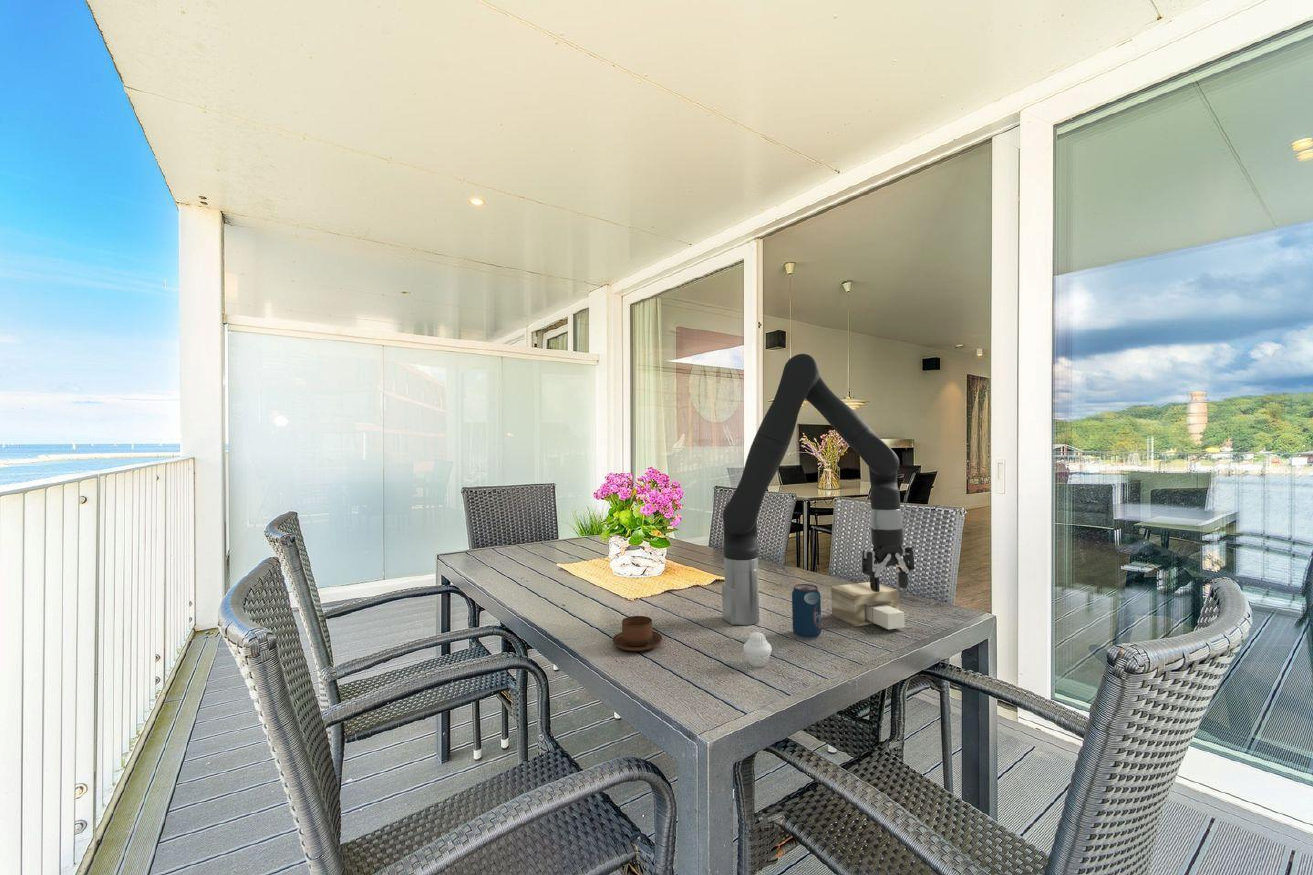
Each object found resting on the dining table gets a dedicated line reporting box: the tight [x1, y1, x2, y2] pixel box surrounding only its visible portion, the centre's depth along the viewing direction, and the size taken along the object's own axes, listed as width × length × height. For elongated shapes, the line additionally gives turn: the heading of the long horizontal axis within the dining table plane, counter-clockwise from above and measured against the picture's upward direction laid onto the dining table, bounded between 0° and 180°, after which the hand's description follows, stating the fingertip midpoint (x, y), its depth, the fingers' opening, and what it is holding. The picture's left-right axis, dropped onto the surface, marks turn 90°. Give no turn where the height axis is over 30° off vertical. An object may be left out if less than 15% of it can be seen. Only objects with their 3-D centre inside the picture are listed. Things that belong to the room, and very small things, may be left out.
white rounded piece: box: [742, 631, 773, 668], centre depth 116 cm, size 6×6×7 cm
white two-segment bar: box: [864, 604, 906, 630], centre depth 140 cm, size 5×14×4 cm, turn 17°
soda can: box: [791, 583, 822, 640], centre depth 133 cm, size 7×7×12 cm
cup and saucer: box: [612, 615, 663, 652], centre depth 128 cm, size 12×12×6 cm
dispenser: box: [830, 581, 900, 627], centre depth 145 cm, size 14×11×8 cm
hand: (889, 589), depth 136 cm, fingers open, 8 cm apart
